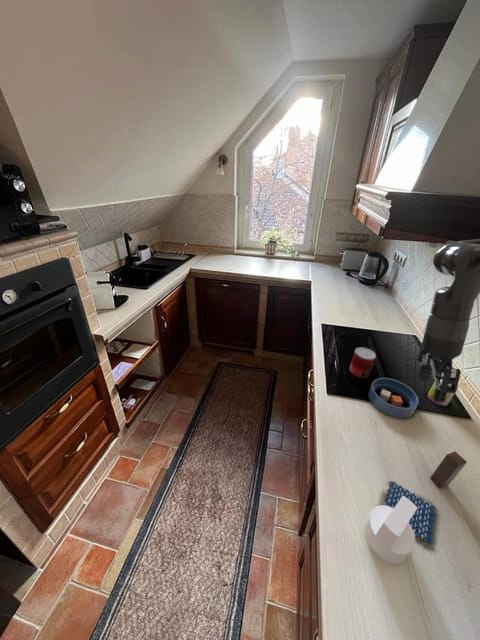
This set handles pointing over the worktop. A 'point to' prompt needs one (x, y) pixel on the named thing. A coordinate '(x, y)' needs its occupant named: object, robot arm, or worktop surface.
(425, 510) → the woven mat
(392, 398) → the block
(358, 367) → the canned food
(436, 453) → the worktop surface
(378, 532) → the base with upright slab
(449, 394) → the supplement bottle
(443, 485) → the brown rectangular block
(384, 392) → the block
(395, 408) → the bowl
